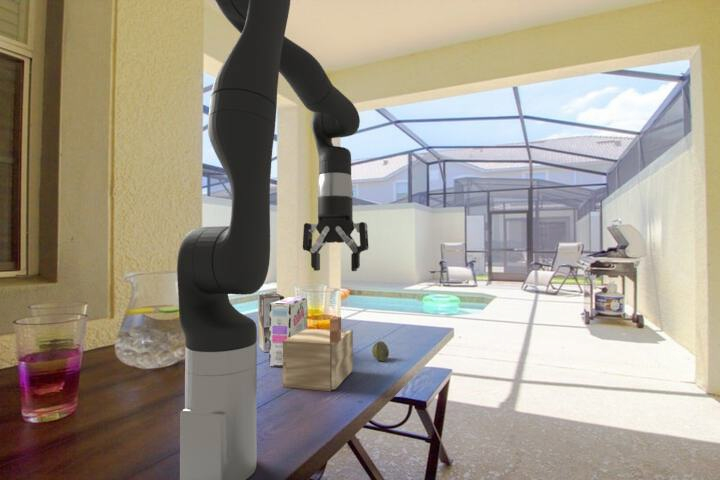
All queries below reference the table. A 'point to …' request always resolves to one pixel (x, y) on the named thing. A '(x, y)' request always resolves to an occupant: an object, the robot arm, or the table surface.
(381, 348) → the lime
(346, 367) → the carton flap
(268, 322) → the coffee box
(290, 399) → the table surface
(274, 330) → the candy box
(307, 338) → the carton
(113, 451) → the table surface
